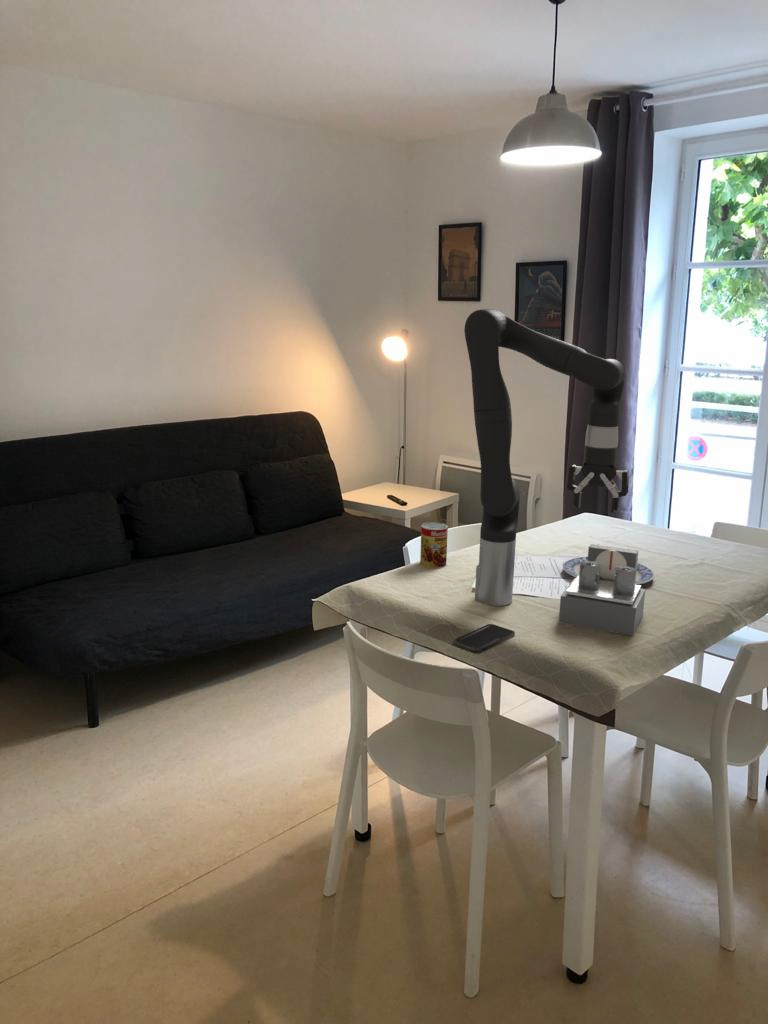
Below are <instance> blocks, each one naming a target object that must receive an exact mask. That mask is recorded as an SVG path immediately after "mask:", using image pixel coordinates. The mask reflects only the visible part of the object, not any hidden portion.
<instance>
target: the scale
mask: <svg viewBox="0 0 768 1024" xmlns="http://www.w3.org/2000/svg"><path fill="white" fill-rule="evenodd" d="M587 557H588V561H594V562H598V563H600V564H601V568H600V579H602V580H609V581H614V575H615V568H616V567H618V566H628V567H632V568H635V569H636V571H637V563H638V560H639V550H638V549H632V548H631V549H629V548H623V547H616V546H608V545H600V544H594V543H591V544H589V546H588V551H587ZM575 579H576V578H575V577H574V578H573V579H572V581H571V582H570V583H569V584H568V586H567V587H566V588H565V589H564V591H562V594H561V595H560V598H559V599H560V602H559V616H558V623H560V624H565V625H571V626H576V627H581V628H582V627H583V628H588V629H594V630H600V631H605V632H611V633H616V634H622V635H625V636H626V635H628V636H634V635H635V633H636V630H637V629H638V626H639V624H640V622H641V620H642V618H643V616H644V605H645V599H646V597H645V596H646V588H641V589H640V591H639V593H638V595H637V597H636V599H635V601H634V603H633V605H631V604H625V603H619V602H612V601H606V600H600V599H594V598H588V597H582V596H576V595H570V594H566V590H567V589H568V588H569V586H570V585H571V584H572V582H573V581H574V580H575ZM635 581H636V580H635Z"/></svg>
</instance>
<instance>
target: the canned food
mask: <svg viewBox="0 0 768 1024" xmlns="http://www.w3.org/2000/svg"><path fill="white" fill-rule="evenodd" d="M420 527H421V529H420V530H421V531H420V558H419V559H420V561H419V563H420V565H419V566H421V567H424V568H427V569H442V568H445V567H446V566H447V557H448V556H447V553H448V534H449V533H448V532H449V531H448V529H449V526H448V525H447V524H446V523H443V522H424V523H422V524H421V526H420Z"/></svg>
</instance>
